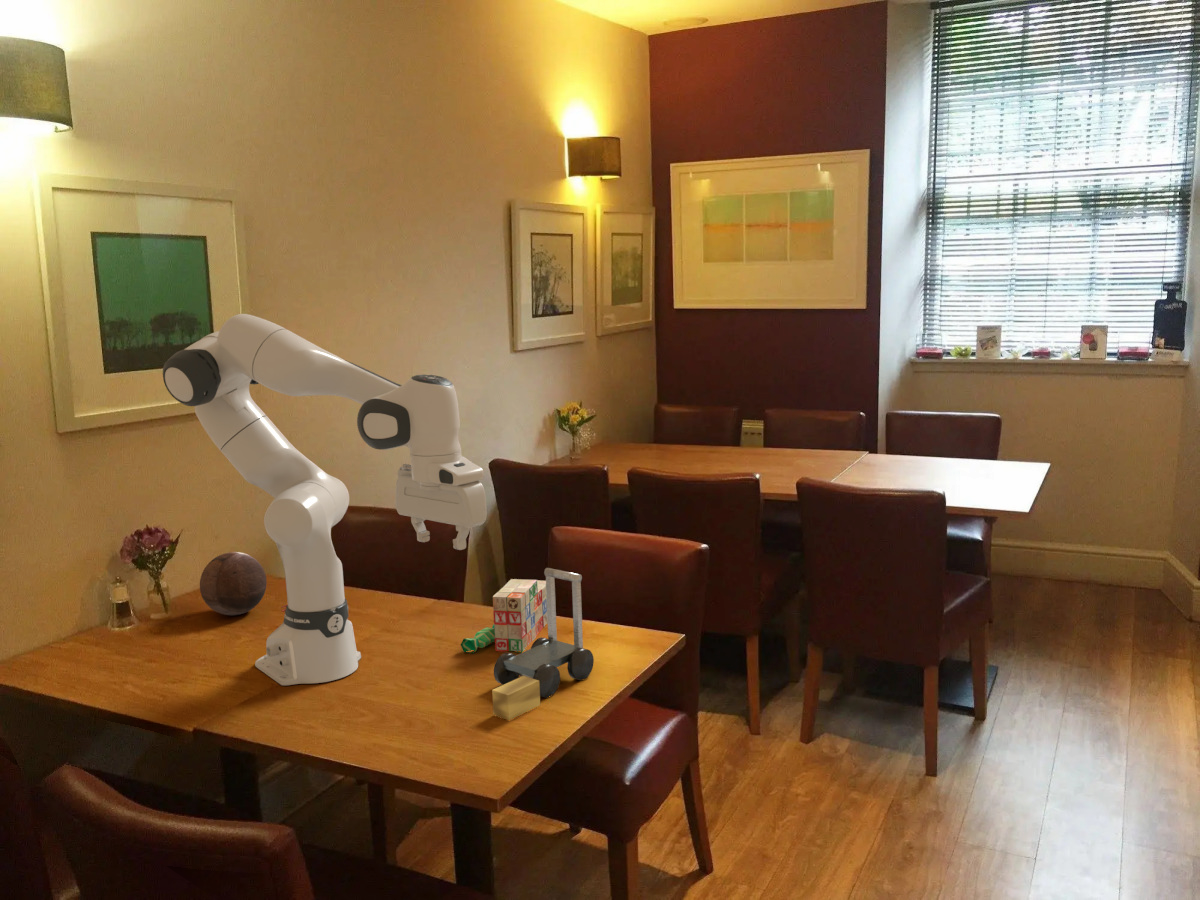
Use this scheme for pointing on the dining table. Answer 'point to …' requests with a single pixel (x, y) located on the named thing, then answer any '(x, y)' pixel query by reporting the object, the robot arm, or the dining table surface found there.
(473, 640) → the candy
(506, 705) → the block
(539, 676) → the trolley
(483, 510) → the robot arm
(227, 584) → the wooden sphere
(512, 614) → the stack of blocks
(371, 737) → the dining table surface
